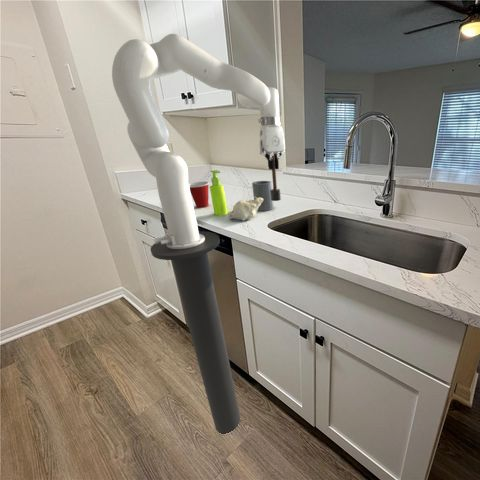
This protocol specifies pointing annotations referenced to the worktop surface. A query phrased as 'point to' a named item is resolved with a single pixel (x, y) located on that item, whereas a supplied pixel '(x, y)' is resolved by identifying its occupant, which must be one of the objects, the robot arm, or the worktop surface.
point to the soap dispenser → (218, 195)
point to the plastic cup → (200, 193)
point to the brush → (275, 185)
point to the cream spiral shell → (245, 209)
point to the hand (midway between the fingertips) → (273, 168)
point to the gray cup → (263, 194)
